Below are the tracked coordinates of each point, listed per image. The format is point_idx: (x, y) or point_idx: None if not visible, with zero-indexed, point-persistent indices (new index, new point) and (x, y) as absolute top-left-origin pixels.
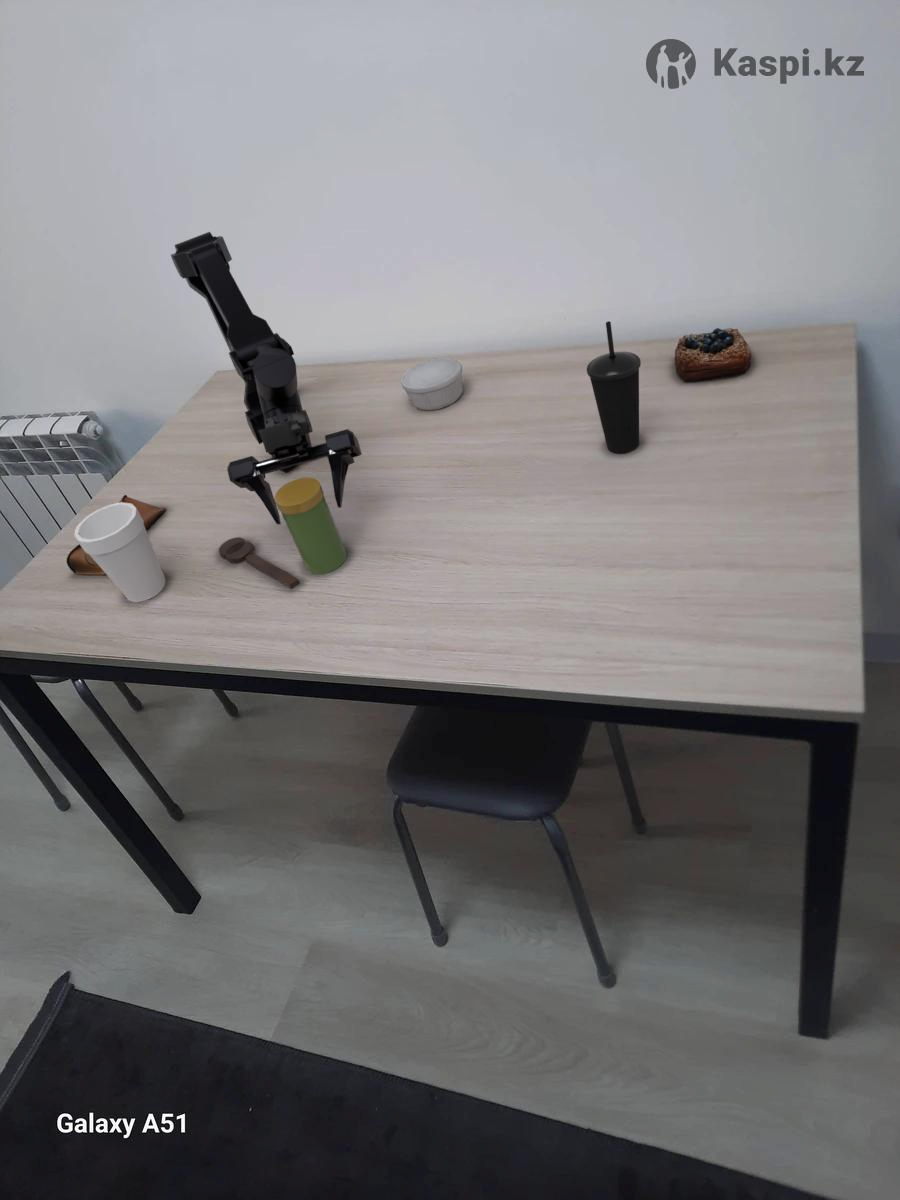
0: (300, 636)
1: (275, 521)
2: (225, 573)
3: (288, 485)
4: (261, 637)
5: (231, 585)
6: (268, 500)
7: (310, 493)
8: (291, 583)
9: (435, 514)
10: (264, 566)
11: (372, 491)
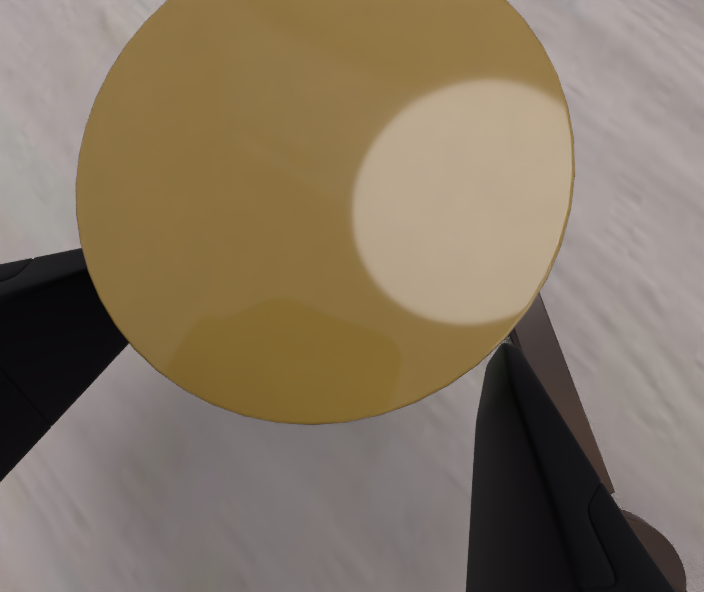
0: (549, 16)
1: (522, 354)
2: (695, 492)
3: (338, 358)
4: (655, 80)
5: (689, 402)
6: (556, 472)
7: (218, 28)
8: None
9: (50, 250)
10: (561, 387)
11: (113, 517)
